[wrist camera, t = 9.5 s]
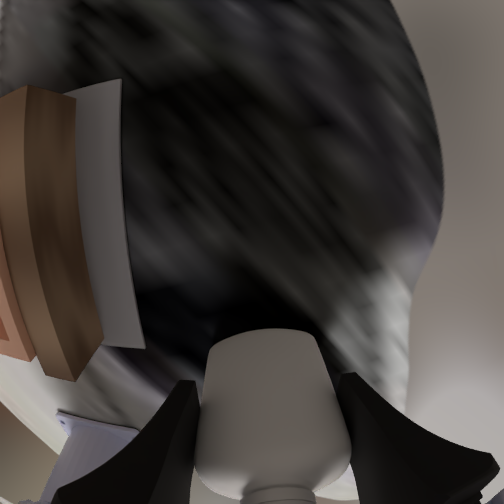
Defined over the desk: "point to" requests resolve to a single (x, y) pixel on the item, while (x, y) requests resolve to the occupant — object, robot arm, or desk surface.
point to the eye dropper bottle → (269, 420)
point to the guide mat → (105, 212)
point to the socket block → (12, 318)
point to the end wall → (46, 229)
